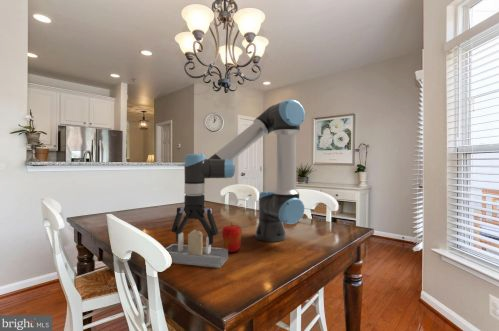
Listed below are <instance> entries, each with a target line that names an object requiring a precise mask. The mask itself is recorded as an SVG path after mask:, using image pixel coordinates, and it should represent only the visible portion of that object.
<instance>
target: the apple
mask: <svg viewBox="0 0 499 331" xmlns="http://www.w3.org/2000/svg"><path fill="white" fill-rule="evenodd" d="M221 232H222V239H223V240H222V241H223V248H225V249H228V253H235V252H237V251H238V250H240V248H241V247H242V246H241V244H242V234H243V229H242V228H241V226H239V225H237V224H235V225H234V224H233V223H231V224H230V225H226V226H224V227H223V228H222V231H221Z"/></svg>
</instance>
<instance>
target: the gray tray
mask: <svg viewBox="0 0 499 331" xmlns="http://www.w3.org/2000/svg"><path fill="white" fill-rule="evenodd" d="M164 249H166V250H167V251H168V252H169V254H170V255H171V257H172V263H171V264H178V265H179V264H180V265H187V266H197V267H206V268H216V269H220V268H222V266H224V264H225V262H227V260H228V259H229V252H228V249H225V248H224V247H212V246H211V252H210V253H209V254H206V246H203V253H202V255H198V254H188V244H183V250H181V251H178V243H171V244H170V245H169V246H167V247H165V248H164Z"/></svg>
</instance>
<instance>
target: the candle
mask: <svg viewBox="0 0 499 331" xmlns="http://www.w3.org/2000/svg"><path fill="white" fill-rule="evenodd" d="M203 237H204V236H203V232H201V231H200V229H199V230H198V229H197V228H196V229H193V230H191V231H190V232H189V233H188V234H187V245H188V254H198V255H202V253H203V247H204V246H203Z"/></svg>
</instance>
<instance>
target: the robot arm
mask: <svg viewBox="0 0 499 331" xmlns="http://www.w3.org/2000/svg"><path fill="white" fill-rule="evenodd" d="M305 117H306V113H305V108H304V106H303V105H302V104H301V103H300V102H299V101H297V100H295V99H286V100H283V101H281V102H279V103H276V104H273V105H271V106H269V107H267V108H266V109H264V110H263V112H262V113H261V114H260V115H259V116H257V117H256V118H255V119H253V123H252V124H250V125H249V126H248V127H247V128H245V129H244V130H243V131H242V132H240V133H239V134H238V135H236V136H235V137H234V138H233V139H231V140H230V141H229V142H228V143H226V144H225V145H224V146H222V147H221V148H220V149H219V150H218V151H216V152H214V154H213V155H211V156H210V157H209V158H205V157H206V156H205V154H204V153H188V154H187V153H186V155H184V165H183V167H184V190H183V192H184V193H183V194H185V195H184V196H183V197H184V198H183V199H184V206H183V207H182V206H179V207H177V208H176V215H175V218H174V221H173V224H172V226H171V227H172V228H171V229H170V232H172V233H175V235H176V236H175V241H176V243H177V244H178V251H181V250H183V245H184V232H183V230H184V228H185V227H186V225H187V223H188V222H189V220H198V221H199V222H200V223H201V225H202V227H203V229H204V230H205V232H206V234H207V236H206V238H205V240H206V241H205V242H206V243H205V244H206V245H205V247H206V254H209V253H210V252H211V247H212V245H213V243H214V236H217V234H218V233H219V230H218V228H217V224H216V221H215V216H214V215H213V213H214V212H213V208H206V207H205V199H206V198H205V197H206V196H205V189H206V188H205V184H206V183H205V182H206V181H205V180H206V179H232V178H233V177H234V175H235V172H236V164H235V162H234V160H235V159H237V158H238V157H239V156H240V155H241V154H243V153H244V152H245V151H246V150H248V149H249V148H250V147H251V146H253V144H254V143H256V142H257V141H258V140H260V139H261V138H262V137H263V136H265V137H266V136H268V135H269V134H270V133H272V132H273V133H274V134H275V135H276V189H274V191H273V190H272V191H261V192H259V195H258V223H257V227H256V230H255V233H254V234H255V236H254V237H255V239H257V240H259V241H263V242H268V243H270V242H273V243H274V242H275V243H277V242H281V241H284V240H286V238H287V232H286V230H285V227H284V224H288V225H295V224H296V223H298V222H299V221H300V220H301V219H302V218H303V216H304V213H305V204H304V202H303V201H302V200H301V199H300V191H299V190H298V189H297V135H298V134H299V133H300V130H301V129H300V128H301V127H300V125H302V123H304V121H305ZM183 213H185V215H184V217H183V219H182V216H183ZM205 215H206V216H207V219H208V221H207V219H206V216H205ZM181 219H182V220H181Z"/></svg>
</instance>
